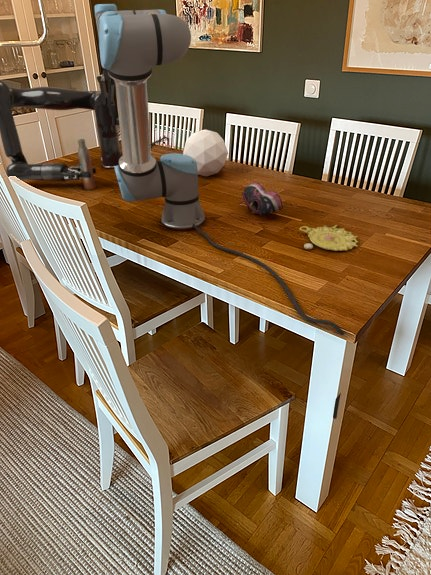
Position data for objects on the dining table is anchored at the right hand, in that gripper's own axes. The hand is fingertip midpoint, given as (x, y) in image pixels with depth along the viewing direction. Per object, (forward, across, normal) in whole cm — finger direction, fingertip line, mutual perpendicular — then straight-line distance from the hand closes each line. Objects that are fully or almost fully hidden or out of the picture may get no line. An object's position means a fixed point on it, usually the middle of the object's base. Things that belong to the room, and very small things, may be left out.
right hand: (121, 124), depth 168 cm
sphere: (+27, -27, -25) cm, 46 cm away
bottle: (+27, +19, -4) cm, 33 cm away
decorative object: (+27, -78, +35) cm, 90 cm away
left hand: (+20, +17, -4) cm, 27 cm away
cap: (-2, 0, 0) cm, 2 cm away
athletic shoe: (+27, -54, +14) cm, 62 cm away
